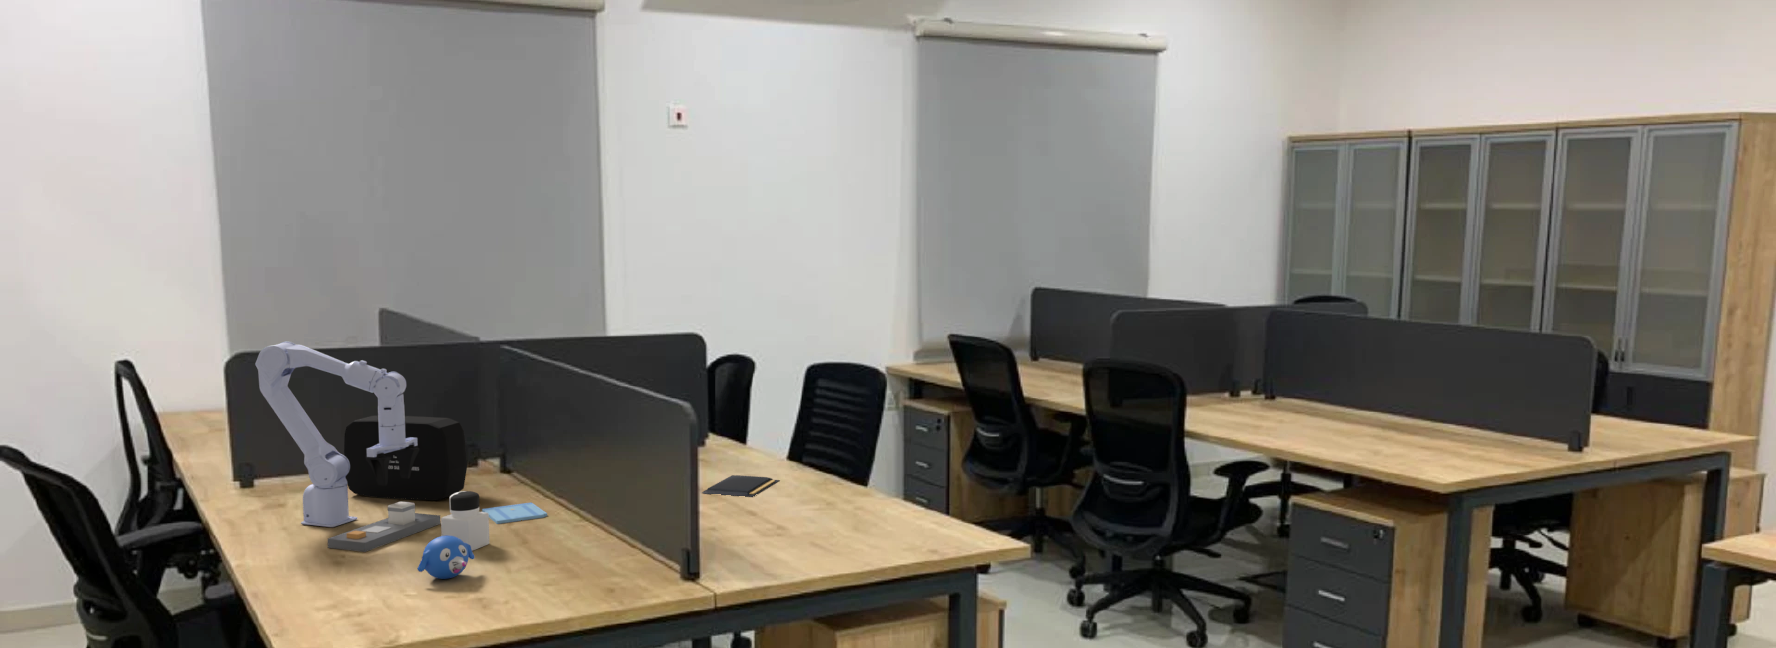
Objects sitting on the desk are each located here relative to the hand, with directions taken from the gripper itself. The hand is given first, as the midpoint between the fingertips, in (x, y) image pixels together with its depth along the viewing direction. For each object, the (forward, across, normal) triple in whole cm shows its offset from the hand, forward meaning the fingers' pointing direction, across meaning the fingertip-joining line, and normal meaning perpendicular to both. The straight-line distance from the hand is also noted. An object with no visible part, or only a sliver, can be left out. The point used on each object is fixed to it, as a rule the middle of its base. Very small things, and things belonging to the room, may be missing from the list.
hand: (394, 481), depth 275 cm
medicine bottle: (+10, -13, -30) cm, 34 cm away
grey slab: (+9, -11, -7) cm, 16 cm away
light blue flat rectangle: (+10, +14, -23) cm, 29 cm away
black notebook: (+10, +57, -63) cm, 85 cm away
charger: (+10, -6, -7) cm, 13 cm away
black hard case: (+10, +23, +15) cm, 29 cm away
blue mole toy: (+10, -33, -42) cm, 54 cm away
